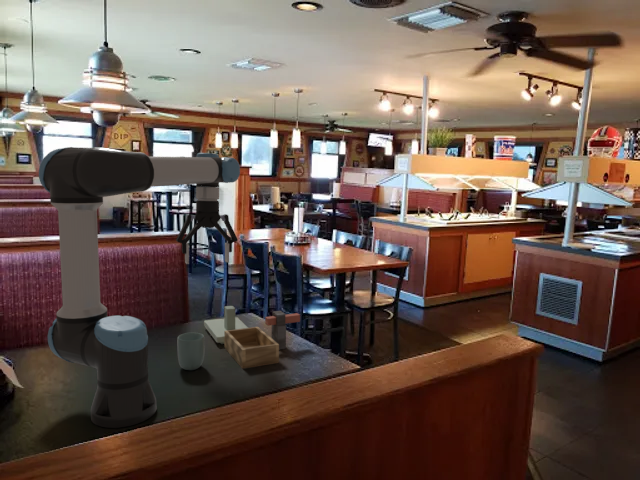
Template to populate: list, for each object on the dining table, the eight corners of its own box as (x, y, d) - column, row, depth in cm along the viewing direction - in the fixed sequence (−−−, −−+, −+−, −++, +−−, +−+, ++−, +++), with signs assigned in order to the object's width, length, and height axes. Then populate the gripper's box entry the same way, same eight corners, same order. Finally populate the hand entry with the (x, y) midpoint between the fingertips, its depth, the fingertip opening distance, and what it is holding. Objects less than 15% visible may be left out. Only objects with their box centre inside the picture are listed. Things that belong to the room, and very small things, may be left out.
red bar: (300, 321, 171) (300, 315, 171) (267, 325, 166) (267, 318, 165) (297, 319, 173) (297, 313, 173) (265, 323, 168) (265, 317, 167)
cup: (172, 369, 148) (171, 337, 147) (190, 361, 155) (190, 330, 154) (192, 374, 144) (191, 342, 143) (209, 366, 151) (209, 334, 150)
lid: (253, 342, 174) (253, 310, 173) (217, 347, 169) (216, 314, 167) (237, 325, 193) (237, 297, 192) (204, 329, 188) (203, 300, 186)
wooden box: (298, 359, 158) (299, 323, 157) (242, 368, 150) (242, 330, 148) (276, 340, 176) (276, 308, 174) (224, 347, 167) (224, 313, 166)
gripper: (240, 200, 172) (239, 259, 175) (167, 198, 161) (167, 262, 164) (246, 201, 166) (246, 262, 168) (171, 199, 155) (171, 265, 157)
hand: (207, 262), depth 166 cm, fingers open, 13 cm apart
